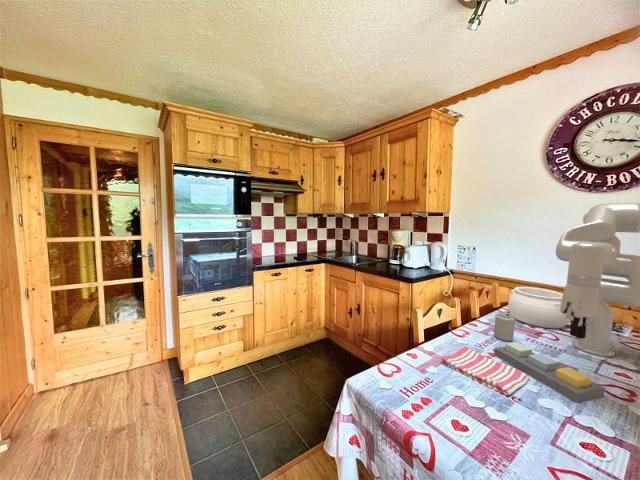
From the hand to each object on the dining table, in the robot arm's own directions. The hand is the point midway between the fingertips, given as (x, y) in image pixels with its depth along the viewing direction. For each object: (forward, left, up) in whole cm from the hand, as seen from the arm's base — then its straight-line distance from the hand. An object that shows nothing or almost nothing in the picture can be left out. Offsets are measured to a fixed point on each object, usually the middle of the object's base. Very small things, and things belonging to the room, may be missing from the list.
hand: (577, 336), depth 83 cm
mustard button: (0, 0, -16) cm, 16 cm away
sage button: (0, -18, -16) cm, 24 cm away
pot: (-51, -47, -18) cm, 71 cm away
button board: (0, -9, -18) cm, 20 cm away
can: (-12, -34, -18) cm, 40 cm away
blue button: (0, -9, -16) cm, 18 cm away
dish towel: (+20, -15, -19) cm, 32 cm away
